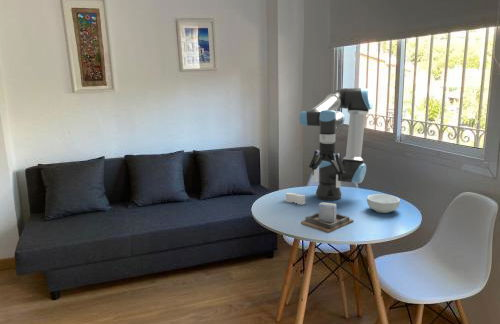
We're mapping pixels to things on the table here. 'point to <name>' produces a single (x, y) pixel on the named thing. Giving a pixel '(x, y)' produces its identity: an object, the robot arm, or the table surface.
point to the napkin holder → (295, 198)
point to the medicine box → (327, 212)
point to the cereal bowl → (383, 202)
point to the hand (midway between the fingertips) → (326, 184)
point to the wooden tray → (326, 226)
